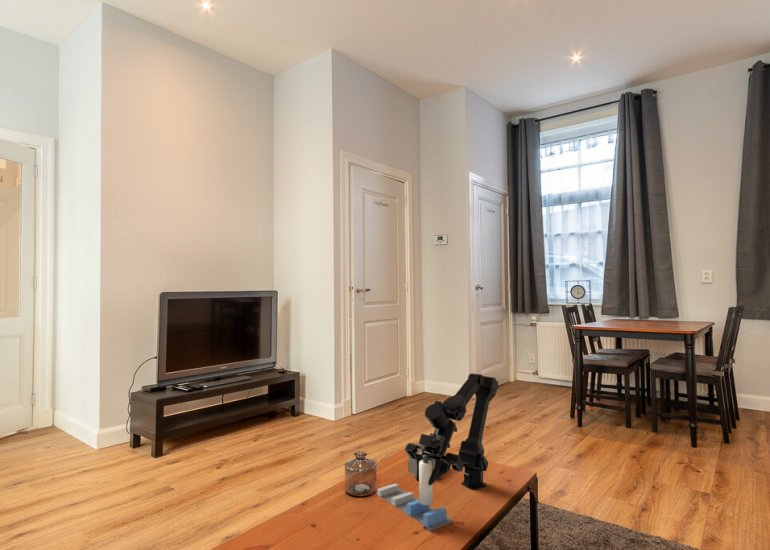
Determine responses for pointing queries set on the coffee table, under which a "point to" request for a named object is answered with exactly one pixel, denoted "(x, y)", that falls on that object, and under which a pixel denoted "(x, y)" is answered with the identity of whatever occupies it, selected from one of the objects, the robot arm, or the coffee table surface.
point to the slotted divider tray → (415, 507)
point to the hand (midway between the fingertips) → (423, 482)
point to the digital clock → (413, 463)
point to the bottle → (425, 481)
